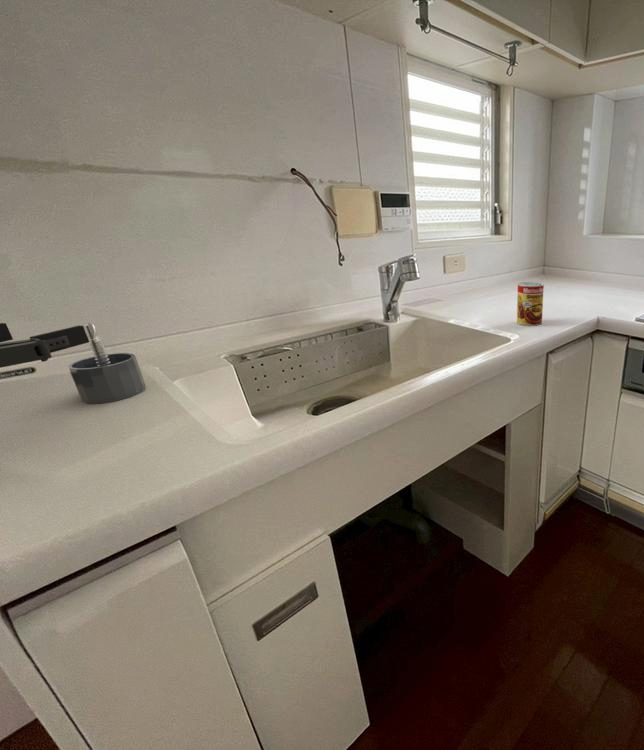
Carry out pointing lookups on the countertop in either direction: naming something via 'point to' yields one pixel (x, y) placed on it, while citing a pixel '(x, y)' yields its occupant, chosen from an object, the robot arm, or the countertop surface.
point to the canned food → (530, 303)
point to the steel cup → (107, 378)
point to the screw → (96, 345)
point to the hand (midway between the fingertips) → (45, 332)
